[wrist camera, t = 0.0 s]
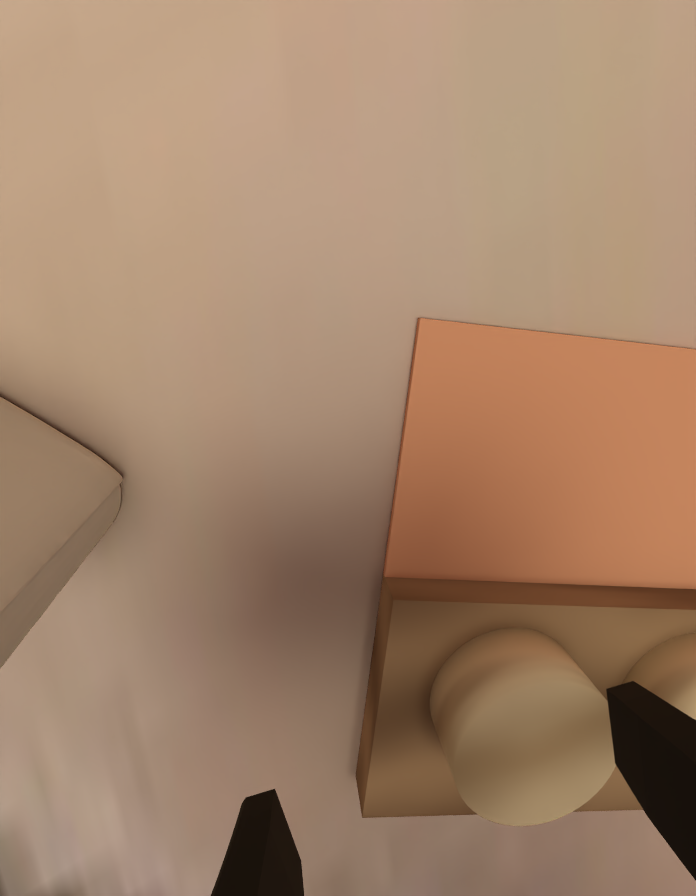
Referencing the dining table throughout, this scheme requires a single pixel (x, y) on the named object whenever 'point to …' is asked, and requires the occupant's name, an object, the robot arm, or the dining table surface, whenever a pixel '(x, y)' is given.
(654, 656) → the coaster
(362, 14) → the dining table surface
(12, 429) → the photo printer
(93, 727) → the dining table surface
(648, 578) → the mat
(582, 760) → the coaster
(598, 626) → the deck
